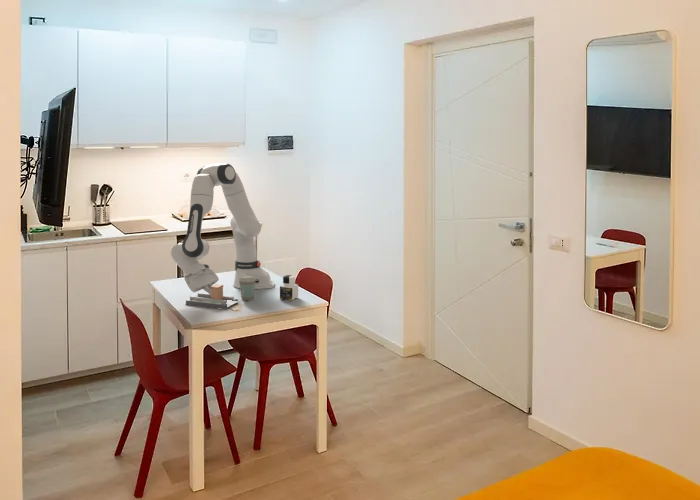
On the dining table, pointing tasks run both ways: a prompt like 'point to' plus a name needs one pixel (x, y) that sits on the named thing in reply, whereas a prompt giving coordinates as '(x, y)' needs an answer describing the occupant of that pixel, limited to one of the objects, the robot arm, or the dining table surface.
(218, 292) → the switch tab
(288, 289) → the medicine bottle
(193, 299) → the switch board
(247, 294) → the coffee cup
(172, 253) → the robot arm
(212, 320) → the dining table surface
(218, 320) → the dining table surface
